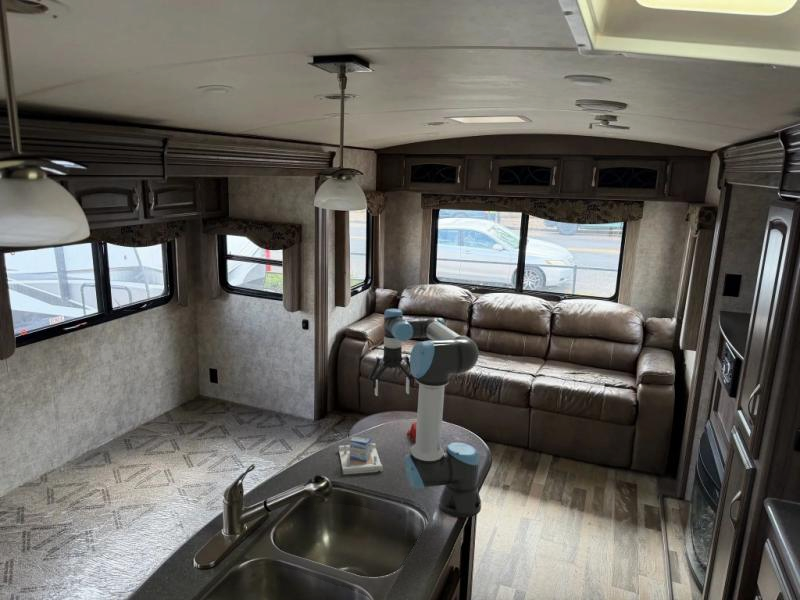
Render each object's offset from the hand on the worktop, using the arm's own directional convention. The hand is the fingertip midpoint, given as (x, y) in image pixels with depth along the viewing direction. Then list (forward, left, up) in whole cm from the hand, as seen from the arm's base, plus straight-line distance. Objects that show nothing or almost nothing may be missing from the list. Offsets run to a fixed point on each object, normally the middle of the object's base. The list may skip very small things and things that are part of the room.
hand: (391, 394), depth 235 cm
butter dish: (+14, -17, -28) cm, 35 cm away
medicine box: (-5, +14, -26) cm, 30 cm away
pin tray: (-5, +14, -27) cm, 31 cm away
